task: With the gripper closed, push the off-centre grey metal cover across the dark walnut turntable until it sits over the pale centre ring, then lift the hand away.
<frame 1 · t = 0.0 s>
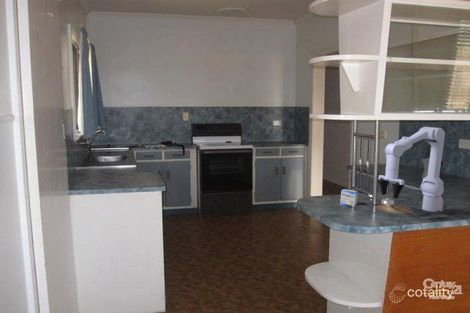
hand: (389, 196, 195), 10 cm above the countertop, tool pointing down, fingers open, 7 cm apart
metal cover: (387, 206, 212), point 1 cm above the countertop, touching turntable
coffeepot: (429, 179, 304), on the countertop
dial gauge: (371, 207, 213), on the countertop
medicine box: (348, 206, 214), on the countertop
turntable: (394, 211, 207), on the countertop
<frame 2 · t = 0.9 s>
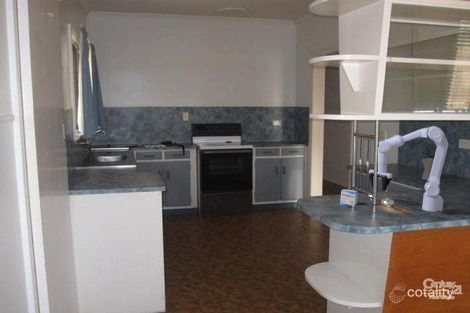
hand: (378, 189, 215), 10 cm above the countertop, tool pointing down, fingers open, 7 cm apart
nothing on the countertop moved.
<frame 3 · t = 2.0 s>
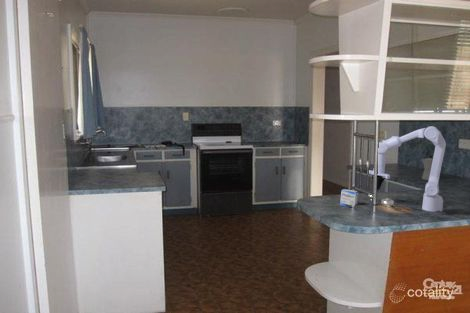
hand: (377, 189, 218), 9 cm above the countertop, tool pointing down, fingers closed
nothing on the countertop moved.
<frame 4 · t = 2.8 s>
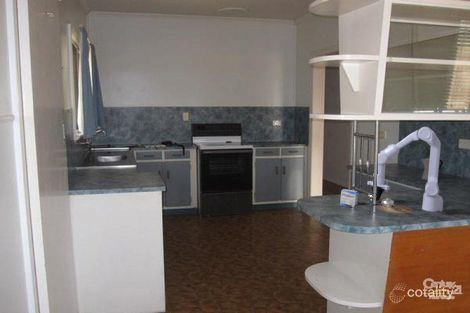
hand: (376, 200, 219), 3 cm above the countertop, tool pointing down, fingers closed
nothing on the countertop moved.
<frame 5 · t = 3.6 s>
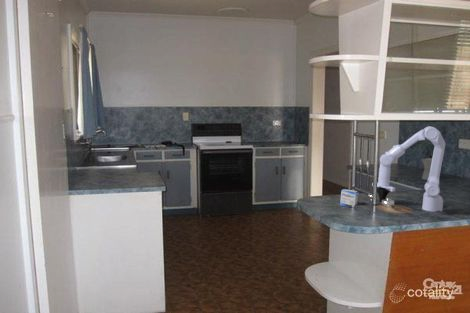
hand: (382, 202, 215), 3 cm above the countertop, tool pointing down, fingers closed
metal cover: (387, 206, 211), point 2 cm above the countertop, touching gripper
everything else where it was.
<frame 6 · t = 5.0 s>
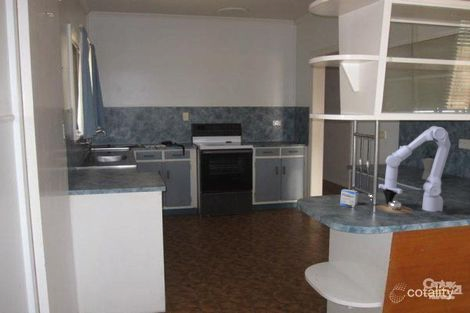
hand: (388, 204, 211), 3 cm above the countertop, tool pointing down, fingers closed
metal cover: (394, 208, 207), point 2 cm above the countertop, touching gripper, turntable
everything else where it was.
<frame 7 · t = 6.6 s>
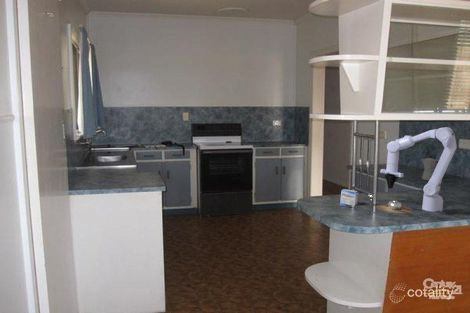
hand: (390, 188, 219), 9 cm above the countertop, tool pointing down, fingers closed
metal cover: (394, 208, 207), point 2 cm above the countertop, touching turntable
everything else where it was.
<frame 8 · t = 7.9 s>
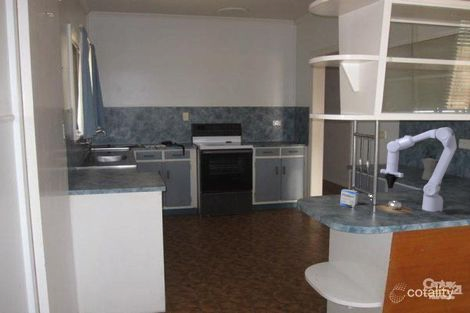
hand: (390, 188, 219), 9 cm above the countertop, tool pointing down, fingers closed
nothing on the countertop moved.
at the end: metal cover 0.1 cm from the target spot, point 1.5 cm above the countertop; metal cover tilted 0°; metal cover touching turntable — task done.
